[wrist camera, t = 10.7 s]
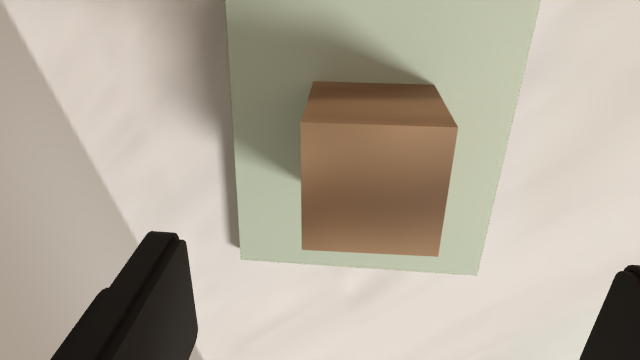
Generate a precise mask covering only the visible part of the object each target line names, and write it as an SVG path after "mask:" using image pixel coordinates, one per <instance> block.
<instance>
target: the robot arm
mask: <svg viewBox="0 0 640 360" xmlns="http://www.w3.org/2000/svg"><path fill="white" fill-rule="evenodd" d="M197 333H198V325H197V318H196V311H195V303H194V296H193V289H192V281H191V274H190V267H189V260H188V252H187V245H186V242H185V241H184V240H179V237H178V235H177V234H176V233H170V232H156V231H151V232H149V233H148V234H147V235H146V236H145V238H144V239H143V240H142V242H141V243H140V245H139V246H138V247H137V249H136V250H135V252H134V253H133V255H132V256H131V257H130V259H129V260H128V262H127V263H126V264H125V266H124V267H123V269H122V270H121V272H120V273H119V275H118V276H117V277H116V279H115V280H114V281H113V283H112V284H111V286H110V287H109V288H105V289H103V290H102V291H101V292H100V293H99V294H98V295H97V296H96V297H95V299H94V300H93V302H92V303H91V304H90V306H89V307H88V309H87V310H86V311H85V313H84V314H83V315H82V317H81V318H80V320H79V321H78V322H77V324H76V325H75V327H74V328H73V329H72V331H71V332H70V333H69V335H68V336H67V337H66V339H65V340H64V342H63V343H62V344H61V346H60V347H59V349H58V350H57V351H56V353H55V354H54V355H53V357H52V358H51V360H189V357H190V355H191V352H192V350H193V347H194V345H195V342H196V339H197ZM580 360H640V266H639V265H629V266H627V267H626V268H625V269H624V271H620V272H618V273H617V274H616V276H615V278H614V280H613V282H612V285H611V287H610V289H609V292H608V294H607V296H606V299H605V301H604V303H603V306H602V308H601V310H600V312H599V315H598V317H597V319H596V322H595V324H594V326H593V329H592V331H591V333H590V336H589V338H588V340H587V343H586V345H585V347H584V350H583V352H582V354H581V357H580Z"/></svg>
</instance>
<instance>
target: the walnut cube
mask: <svg viewBox="0 0 640 360" xmlns="http://www.w3.org/2000/svg"><path fill="white" fill-rule="evenodd" d="M300 129H301V234H302V250H313V251H333V252H353V253H373V254H393V255H413V256H433V257H438V254H439V248H440V242H441V235H442V229H443V222H444V216H445V209H446V203H447V197H448V190H449V184H450V177H451V171H452V164H453V158H454V152H455V145H456V139H457V132H458V126H457V124H456V123H455V121H454V119H453V117H452V115H451V114H450V112H449V110H448V108H447V106H446V105H445V103H444V101H443V99H442V98H441V96H440V94H439V92H438V90H437V89H436V87H435V85H424V84H389V83H354V82H319V81H313V84H312V87H311V90H310V94H309V97H308V100H307V103H306V106H305V109H304V112H303V116H302V119H301V122H300Z"/></svg>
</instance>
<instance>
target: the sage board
mask: <svg viewBox="0 0 640 360" xmlns="http://www.w3.org/2000/svg"><path fill="white" fill-rule="evenodd" d="M540 1H541V0H225V5H226V22H227V38H228V55H229V72H230V88H231V105H232V122H233V138H234V155H235V171H236V188H237V205H238V221H239V238H240V254H241V260H252V261H267V262H282V263H297V264H312V265H327V266H341V267H356V268H371V269H386V270H401V271H415V272H430V273H445V274H460V275H475V276H477V273H478V269H479V264H480V260H481V256H482V251H483V247H484V243H485V238H486V234H487V230H488V225H489V221H490V217H491V213H492V208H493V204H494V200H495V195H496V191H497V187H498V182H499V178H500V174H501V169H502V165H503V161H504V156H505V152H506V148H507V144H508V139H509V135H510V131H511V126H512V122H513V118H514V113H515V109H516V105H517V100H518V96H519V92H520V88H521V83H522V79H523V75H524V70H525V66H526V62H527V57H528V53H529V49H530V44H531V40H532V36H533V31H534V27H535V23H536V19H537V14H538V10H539V6H540ZM313 81H319V82H354V83H389V84H424V85H435V87H436V89H437V90H438V92H439V94H440V96H441V98H442V99H443V101H444V103H445V105H446V106H447V108H448V110H449V112H450V114H451V115H452V117H453V119H454V121H455V123H456V124H457V126H458V132H457V139H456V145H455V152H454V158H453V164H452V171H451V177H450V184H449V190H448V197H447V203H446V209H445V216H444V222H443V229H442V235H441V242H440V248H439V254H438V257H433V256H413V255H393V254H373V253H353V252H333V251H313V250H302V234H301V129H300V122H301V119H302V116H303V112H304V109H305V106H306V103H307V100H308V97H309V94H310V90H311V87H312V84H313Z"/></svg>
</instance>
